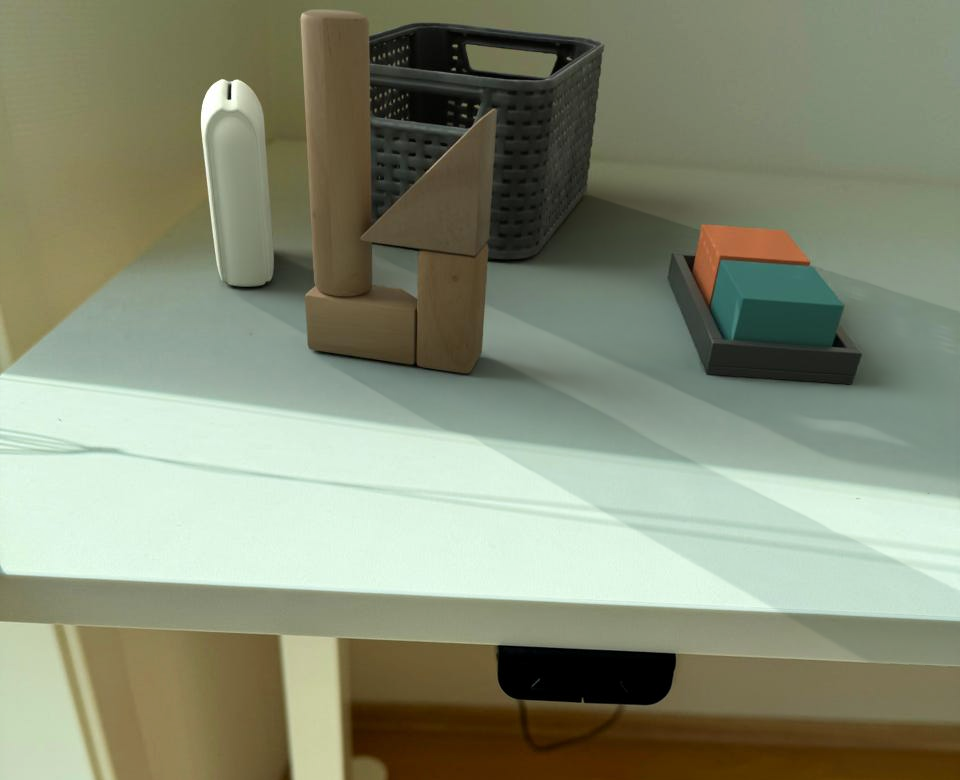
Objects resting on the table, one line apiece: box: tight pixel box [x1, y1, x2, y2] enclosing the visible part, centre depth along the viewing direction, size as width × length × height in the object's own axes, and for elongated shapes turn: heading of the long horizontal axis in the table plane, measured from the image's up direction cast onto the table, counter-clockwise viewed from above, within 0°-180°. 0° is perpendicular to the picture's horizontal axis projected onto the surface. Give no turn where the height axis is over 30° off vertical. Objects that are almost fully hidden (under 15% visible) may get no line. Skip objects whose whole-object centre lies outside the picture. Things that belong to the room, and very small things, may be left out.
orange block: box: [692, 224, 811, 311], centre depth 69 cm, size 6×8×4 cm
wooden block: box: [300, 8, 497, 375], centre depth 54 cm, size 4×11×18 cm, turn 77°
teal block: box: [710, 260, 845, 347], centre depth 62 cm, size 6×8×4 cm
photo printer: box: [200, 78, 275, 288], centre depth 67 cm, size 10×4×12 cm, turn 11°
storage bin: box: [369, 21, 605, 261], centre depth 83 cm, size 29×19×13 cm
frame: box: [666, 251, 863, 385], centre depth 67 cm, size 20×10×2 cm, turn 178°
